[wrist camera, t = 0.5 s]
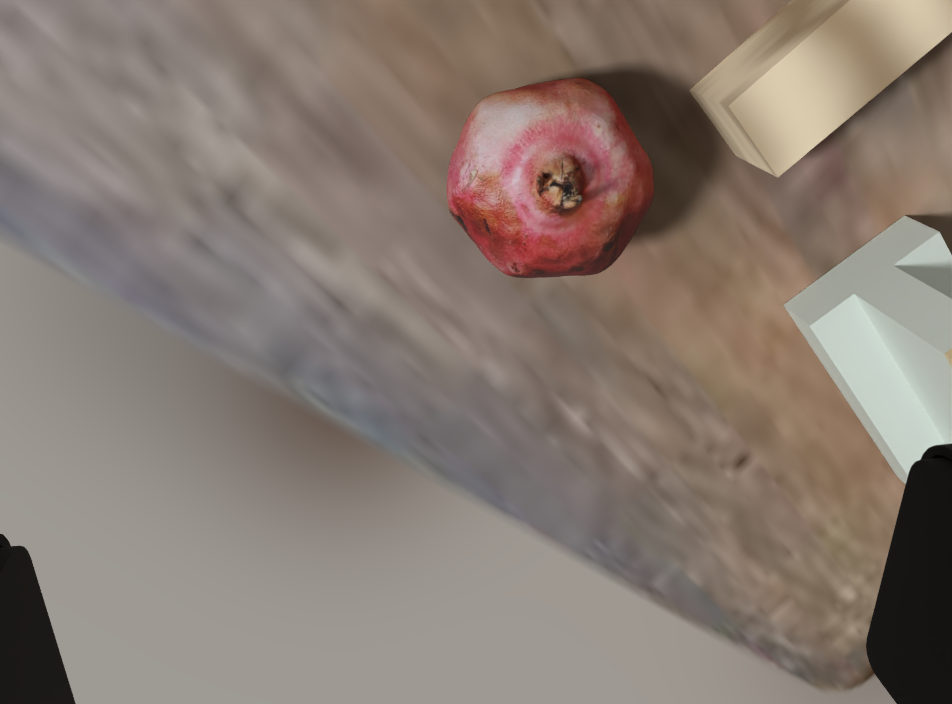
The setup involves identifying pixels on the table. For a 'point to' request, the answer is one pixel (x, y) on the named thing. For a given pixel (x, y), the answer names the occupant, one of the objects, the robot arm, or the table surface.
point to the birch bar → (814, 72)
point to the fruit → (549, 179)
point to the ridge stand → (888, 338)
